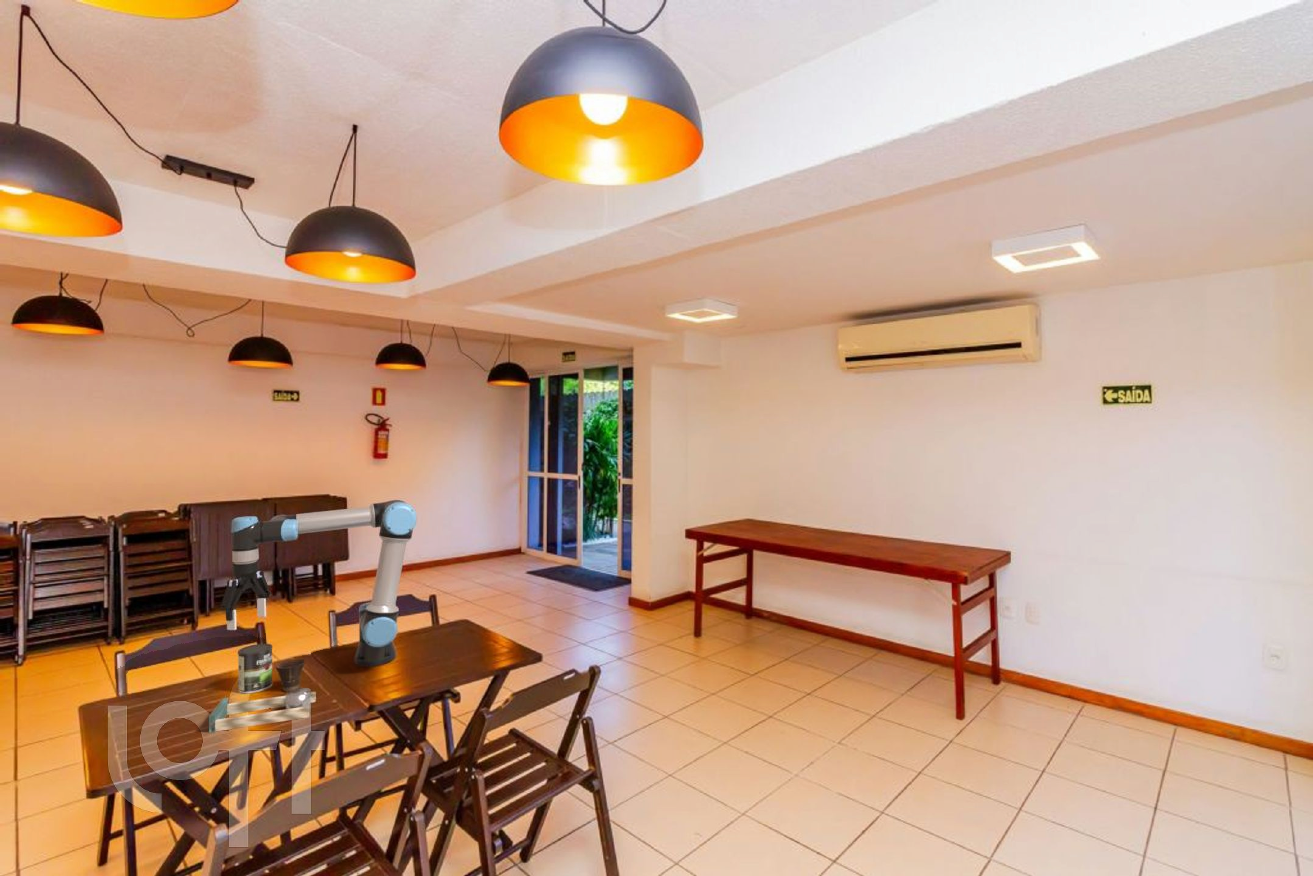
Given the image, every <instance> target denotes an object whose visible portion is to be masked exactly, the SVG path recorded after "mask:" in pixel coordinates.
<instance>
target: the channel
mask: <svg viewBox="0 0 1313 876" xmlns="http://www.w3.org/2000/svg"><path fill="white" fill-rule="evenodd" d="M310 692H311V703H315V702H317V701H316V700H317V698H316V695H317V692H316V691H310ZM284 707H285V709H280V710H273V711H266V712H257V713H252V712H256V711H263V710H270V709H269V708H271V709H278V708H284ZM250 712H251V713H252V714H245V715H240V716H239V715H237V716H232V717H227V716H228V715H235V714H241V713H242V714H243V713H250ZM307 718H310V710H309V706H306V707H299V708H292V709H286V695H282V696H275V697H273V696H272V697H268V698H266V697H265V698H260V699H252V700H246V701H238V702H232V703H229V697H224V698H222V699H221V700H220V702H219V703H218V704H217V705H216V707H215V708H214V709H213V710H212V712H211V713H210V714H209V716H208V728H209V729H208V732H209V733H215V732H221V731H227V730H228V731H229V730H234V729H240V728H248V727H255V726H260V725H269V724H273V723H279V722H286V721H292V720H298V719H299V720H300V719H307Z"/></svg>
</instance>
